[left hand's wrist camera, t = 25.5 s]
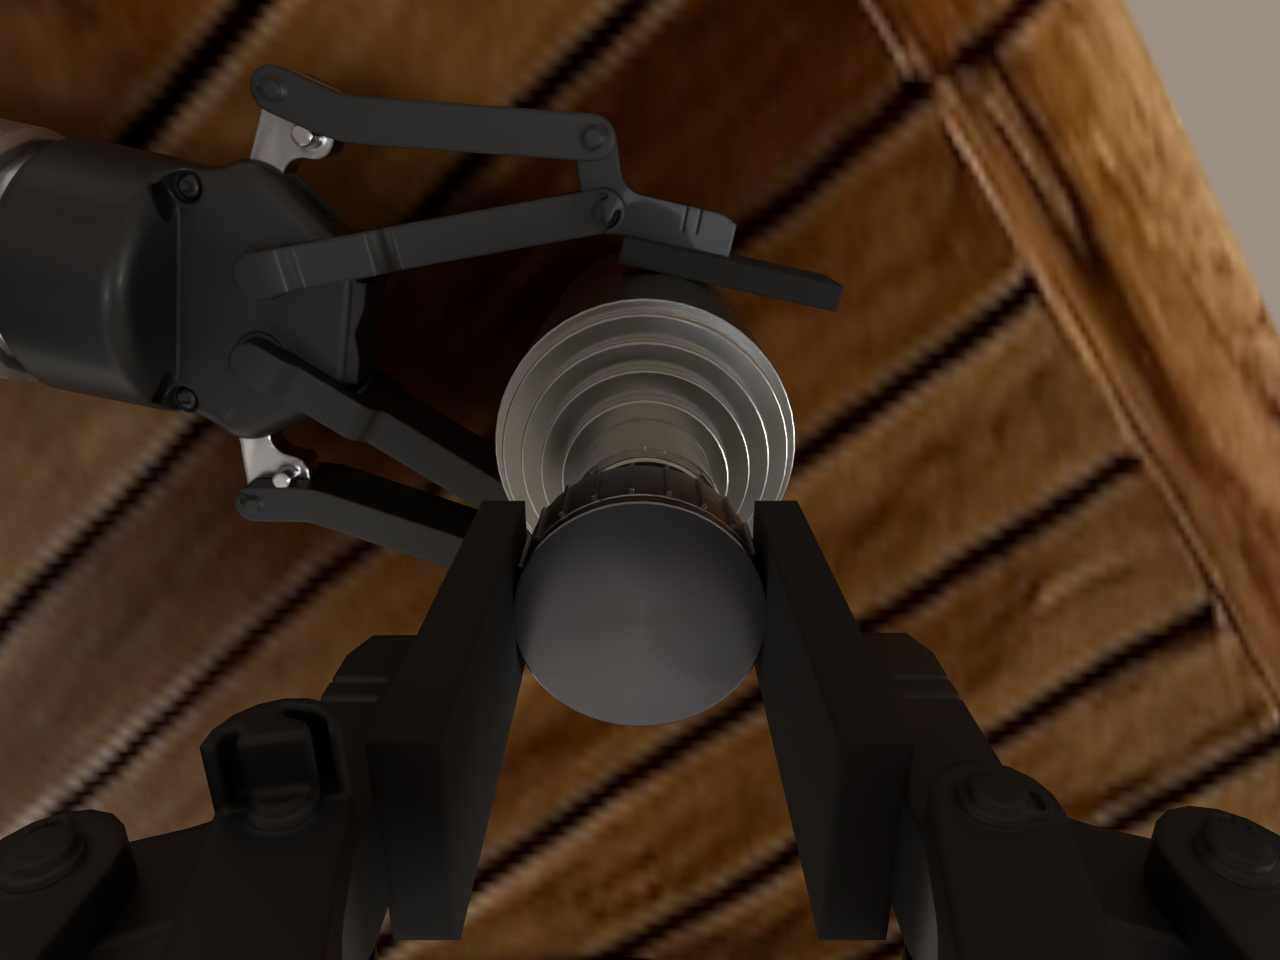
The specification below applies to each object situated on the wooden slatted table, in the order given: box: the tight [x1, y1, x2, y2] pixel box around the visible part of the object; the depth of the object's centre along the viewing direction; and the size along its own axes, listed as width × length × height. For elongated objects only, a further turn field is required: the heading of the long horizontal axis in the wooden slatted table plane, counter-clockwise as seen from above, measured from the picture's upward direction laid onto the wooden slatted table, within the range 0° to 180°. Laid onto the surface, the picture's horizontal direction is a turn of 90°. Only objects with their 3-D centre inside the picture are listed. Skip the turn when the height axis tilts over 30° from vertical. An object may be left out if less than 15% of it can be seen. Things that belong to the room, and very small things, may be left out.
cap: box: [513, 463, 766, 726], centre depth 14 cm, size 4×4×2 cm
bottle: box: [495, 252, 795, 537], centre depth 23 cm, size 7×7×17 cm
